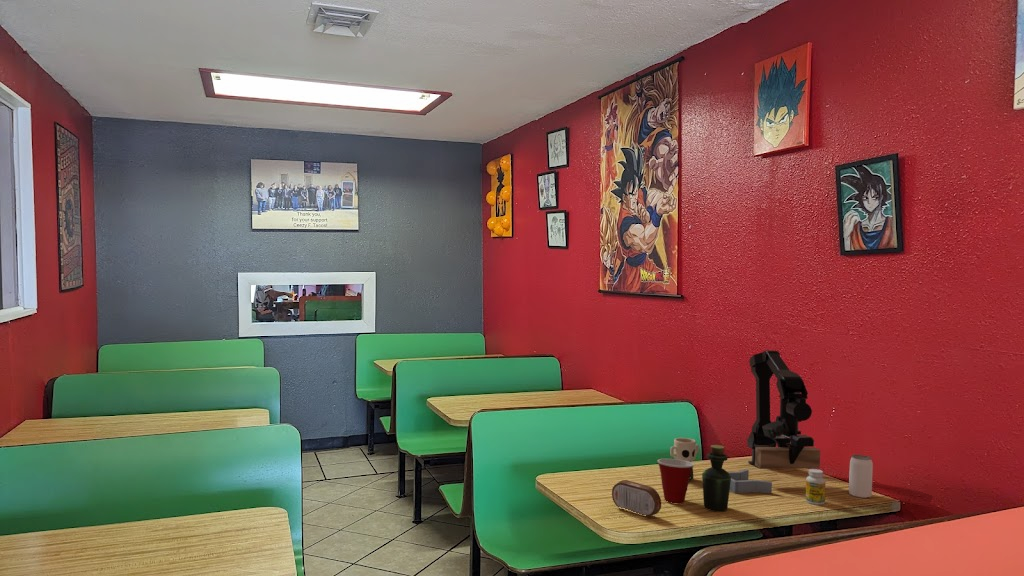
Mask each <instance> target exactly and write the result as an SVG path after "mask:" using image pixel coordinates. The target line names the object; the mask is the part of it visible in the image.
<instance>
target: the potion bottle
mask: <svg viewBox="0 0 1024 576" xmlns="http://www.w3.org/2000/svg"><path fill="white" fill-rule="evenodd" d="M724 450H725V446H723V445H721V444H720V445H719V444H711V445H710V451H711V452H707V455H706V459H708V460H710V465H711V467H708V468H707V469H705V470H703V472H702V474H701V477H702V493H703V494H702V497H703V506H704V508H705V509H706V510H708V511H711V512H717V511H718V512H719V513H720V512H726V511H727V510H728V505H729V497H730V492H731V491H730V483H731V476H730V474H729V473H728V472H729V471H727V470H726V469H724V468H723V466H724V465H723V464H724V462H726V461H727V460H728V456H727V454H725V453H724Z"/></svg>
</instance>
